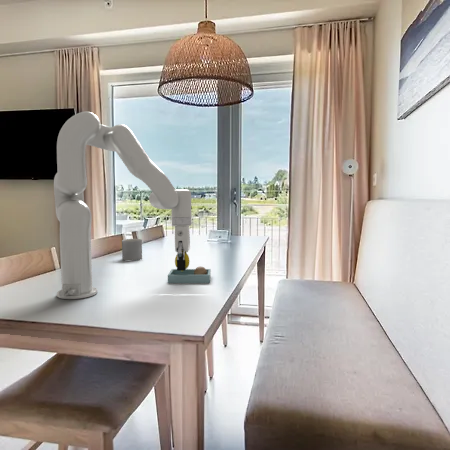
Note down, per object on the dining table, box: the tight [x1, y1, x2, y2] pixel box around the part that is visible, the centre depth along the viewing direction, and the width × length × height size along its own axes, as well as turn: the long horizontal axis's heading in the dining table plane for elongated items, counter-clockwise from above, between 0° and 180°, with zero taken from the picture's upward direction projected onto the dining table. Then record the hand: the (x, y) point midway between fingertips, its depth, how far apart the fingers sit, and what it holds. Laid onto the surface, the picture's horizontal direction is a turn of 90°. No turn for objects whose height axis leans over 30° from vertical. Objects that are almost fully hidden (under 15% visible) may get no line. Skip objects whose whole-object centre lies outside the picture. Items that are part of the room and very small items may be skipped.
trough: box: [167, 268, 212, 284], centre depth 142 cm, size 11×16×4 cm
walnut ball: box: [194, 266, 207, 275], centre depth 142 cm, size 5×5×5 cm
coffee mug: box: [121, 238, 143, 261], centre depth 191 cm, size 13×10×10 cm
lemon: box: [174, 251, 190, 269], centre depth 142 cm, size 6×6×8 cm
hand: (182, 268), depth 142 cm, fingers closed on lemon, 5 cm apart
